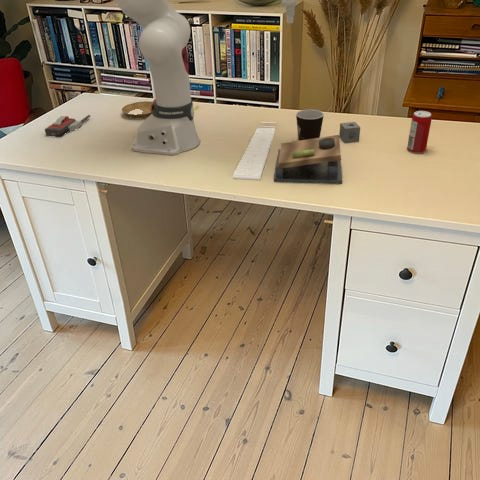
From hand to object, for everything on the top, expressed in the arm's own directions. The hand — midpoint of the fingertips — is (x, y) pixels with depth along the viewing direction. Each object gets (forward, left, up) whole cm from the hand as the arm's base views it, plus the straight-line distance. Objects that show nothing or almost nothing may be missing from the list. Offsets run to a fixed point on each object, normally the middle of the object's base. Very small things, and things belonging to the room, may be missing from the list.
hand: (290, 19), depth 132 cm
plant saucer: (-58, +34, -40) cm, 78 cm away
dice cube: (+19, +12, -39) cm, 45 cm away
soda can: (+39, +4, -39) cm, 56 cm away
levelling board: (+7, -12, -34) cm, 36 cm away
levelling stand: (+6, -12, -39) cm, 41 cm away
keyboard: (-10, +4, -40) cm, 41 cm away
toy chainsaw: (-81, +19, -40) cm, 92 cm away
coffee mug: (+6, +9, -39) cm, 41 cm away
